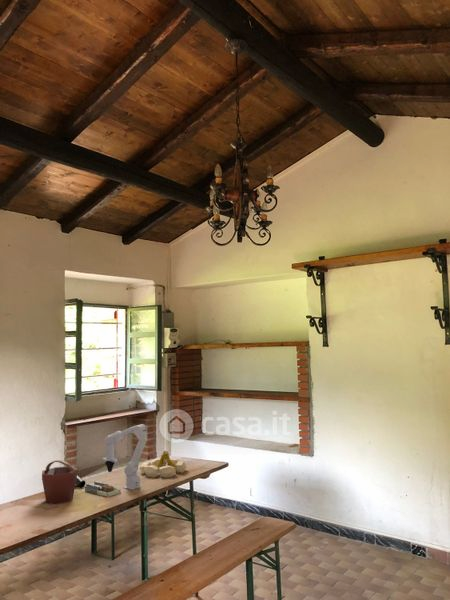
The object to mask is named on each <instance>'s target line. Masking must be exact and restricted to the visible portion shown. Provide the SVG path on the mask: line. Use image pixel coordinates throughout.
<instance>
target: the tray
mask: <svg viewBox="0 0 450 600" xmlns="http://www.w3.org/2000/svg"><path fill="white" fill-rule="evenodd" d="M97 494H98V496H102V497H106V498H110V497H113V496H115V495H118V494H121V489H120V488H119V487H114V491H112V492H108V493H106V492H102V491H98V490H97ZM97 494H96V495H97Z"/></svg>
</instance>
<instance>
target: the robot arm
mask: <svg viewBox="0 0 450 600" xmlns="http://www.w3.org/2000/svg"><path fill="white" fill-rule="evenodd" d="M129 434H134V436H136V438H137V439H138V441H137V444H136V447H135V449H134V451H133V454H132V456H131V458H130V461H129V462H128V463H127V465H126V466H125V467H124V470H123V471H124V474H125V477H126V478H125V481H126V483H125V484H126V485H125V486H123V489H126V490H127V489H128V490H131V491H133V490H136V489H139V488H141V487H142V486H141V479H140V478H141V477H140V476H139V475H138V474H137V473H138V470H139V465H140V464H139V463H140V462H139V460H140V458H141V456H142V454H143V451H144V448H145V447H146V443H147V441H148V428H147V425H146V424H144V423H140V424H138V425H133V426H131V427H129V428H126V429H124V430H122V431H121V430H116V431H115V432H114V433H110V435H107V436H105V437H104V439H103V440H104V443H105V456H104V457H102V460H101V461H103V462H104V461H105V462H104V463H105V466H106V469H107V472H108V473H111V472H112V471H113V467H114V465H115V464H116V463H118V459H117V458H115V442H117V441H119V440H121V439H123V437H124V436H126V435H129Z"/></svg>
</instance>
